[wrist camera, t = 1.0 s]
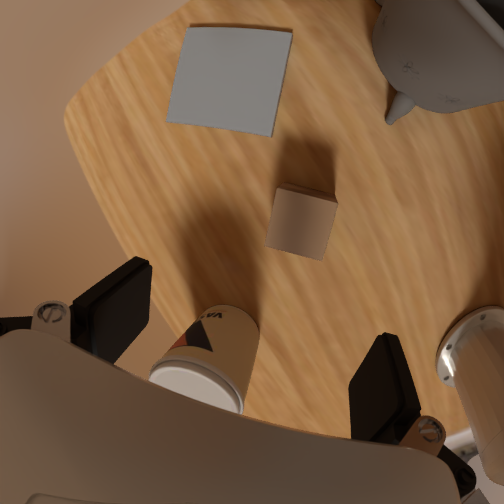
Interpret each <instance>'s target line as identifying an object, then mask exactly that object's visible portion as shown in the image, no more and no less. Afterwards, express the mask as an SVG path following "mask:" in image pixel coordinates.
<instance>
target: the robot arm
mask: <svg viewBox="0 0 504 504" xmlns="http://www.w3.org/2000/svg"><path fill="white" fill-rule="evenodd" d="M151 279H152V266H151V265H149V261H148V260H145V259H143V258H140V257H137V256H135V257H133V258H132V259H131V260H129V261H128V262H126V263H125V264H123V265H122V266H120V267H119V268H118V269H116V270H115V271H113V272H112V273H111V274H109V275H108V276H106V277H105V278H104V279H102V280H101V281H99V282H98V283H97V284H95V285H94V286H92V287H91V288H90V289H88V290H87V291H86V292H84V293H83V294H82V295H80V296H79V297H78V298H76V299H75V300H73V304H72V305H71V306H69V307H68V306H67V305H66V304H64V303H63V302H60V301H46V302H43V303H41V304H40V305H38V306H37V307H36V308H35V310H34V313H33V316H27V317H7V318H0V504H490V503H489V502H488V500H487V499H486V497H485V496H484V494H483V493H482V492H481V490H480V489H479V488H478V489H477V490H475V485H476V475H475V473H474V471H473V469H472V468H471V467H470V466H469V465H468V464H466V463H465V462H464V461H463V460H462V459H460V458H459V457H458V456H457V455H456V454H454V453H453V452H452V451H451V450H449V449H448V448H447V447H446V446H445V445H444V442H445V439H446V431H445V429H444V427H443V425H442V424H441V423H440V422H439V421H438V420H437V419H435V418H434V417H431V416H421V414H420V410H421V406H420V402H419V399H418V395H417V392H416V389H415V386H414V382H413V379H412V376H411V373H410V370H409V367H408V364H407V361H406V358H405V355H404V352H403V349H402V346H401V344H400V341H399V338H398V336H397V335H394V334H390V333H386V332H384V333H383V334H382V335H378V336H377V338H376V339H375V341H374V343H373V345H372V346H371V348H370V350H369V352H368V353H367V355H366V357H365V358H364V360H363V362H362V363H361V365H360V367H359V368H358V370H357V371H356V373H355V375H354V376H353V378H352V379H351V381H350V383H349V388H348V390H349V405H350V422H351V439H348V438H342V437H336V436H330V435H324V434H319V433H313V432H308V431H304V430H299V429H294V428H290V427H286V426H282V425H277V424H273V423H270V422H266V421H262V420H258V419H255V418H251V417H248V416H244V415H241V414H237V413H234V412H231V411H228V410H225V409H221V408H218V407H215V406H212V405H210V404H207V403H204V402H201V401H198V400H195V399H193V398H190V397H187V396H185V395H182V394H180V393H177V392H174V391H172V390H169V389H167V388H164V387H162V386H160V385H157V384H155V383H153V382H150V381H148V380H146V379H143V378H141V377H139V376H137V375H135V374H133V373H130V372H128V371H126V370H124V369H122V368H120V367H117V366H116V365H114V363H115V362H116V360H117V359H118V358H119V357H120V356H121V355H122V353H123V352H124V351H125V350H126V349H127V348H128V346H129V345H130V344H131V343H132V342H133V341H134V340H135V338H136V337H137V336H138V335H139V334H140V333H141V331H142V330H143V329H144V328H145V327H146V325H147V324H148V321H149V306H150V292H151ZM435 366H436V371H437V374H438V376H439V378H440V380H441V381H442V382H443V383H444V384H445V385H447V386H450V387H456V389H457V392H458V394H459V397H460V400H461V402H462V405H463V407H464V410H465V413H466V416H467V418H468V421H469V424H470V427H471V430H472V433H473V436H474V439H475V442H476V446H477V449H478V452H479V456H480V459H481V462H482V466H483V469H484V472H485V474H486V476H487V477H488V478H489V479H490V480H491V481H493V482H494V483H496V484H499V485H502V486H504V309H503V308H502V307H498V306H486V307H482V308H479V309H477V310H475V311H473V312H471V313H470V314H468V315H466V316H465V317H464V318H462V319H461V320H460V321H459V322H458V323H457V324H456V325H455V326H454V327H453V328H452V329H451V330H450V331H449V333H448V334H447V335H446V337H445V338H444V340H443V341H442V343H441V345H440V347H439V350H438V352H437V356H436V365H435Z"/></svg>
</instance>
